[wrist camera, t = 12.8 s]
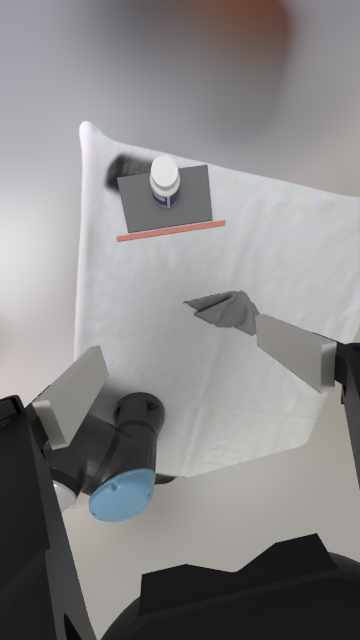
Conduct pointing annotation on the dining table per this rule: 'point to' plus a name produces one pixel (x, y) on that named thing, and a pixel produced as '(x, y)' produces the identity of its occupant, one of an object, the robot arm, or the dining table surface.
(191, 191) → the mat
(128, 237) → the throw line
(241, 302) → the cloth
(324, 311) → the dining table surface
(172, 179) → the pill bottle
